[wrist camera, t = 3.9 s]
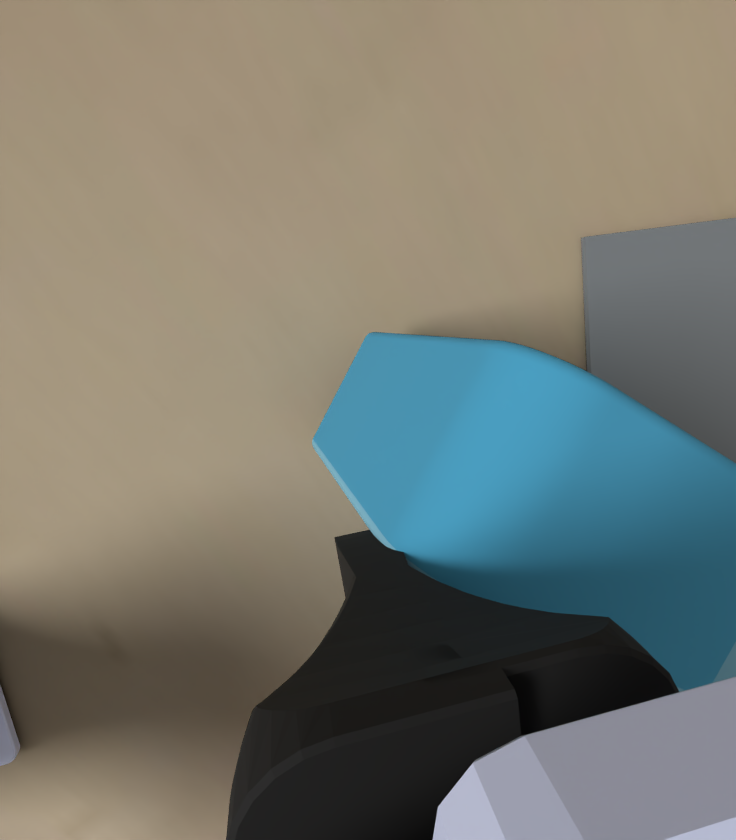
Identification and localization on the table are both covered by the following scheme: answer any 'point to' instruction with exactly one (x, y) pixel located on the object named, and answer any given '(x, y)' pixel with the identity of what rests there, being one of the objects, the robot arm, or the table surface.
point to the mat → (667, 323)
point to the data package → (541, 491)
